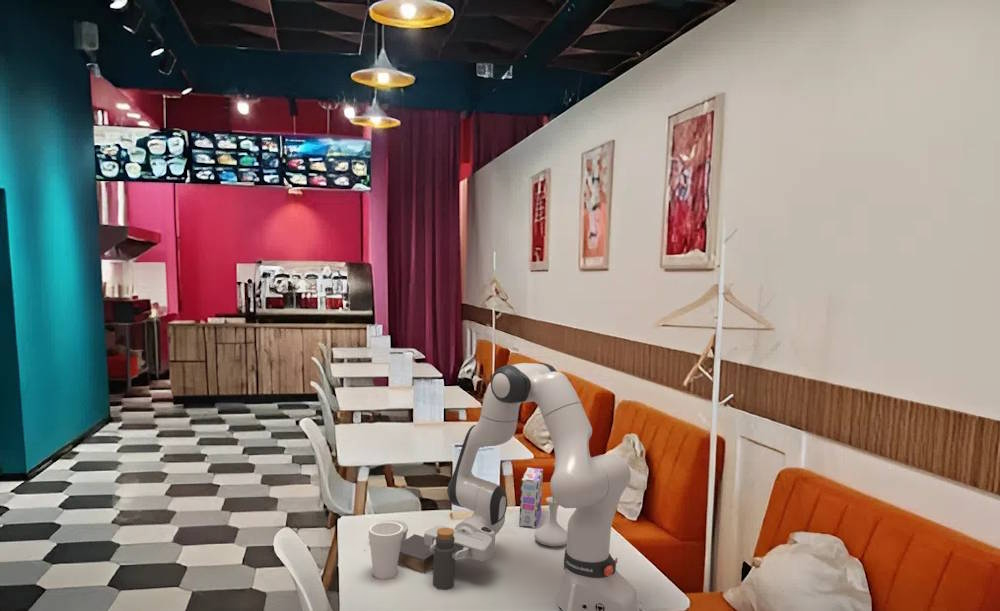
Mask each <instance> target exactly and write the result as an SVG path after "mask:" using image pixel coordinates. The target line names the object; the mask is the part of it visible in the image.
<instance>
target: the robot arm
mask: <svg viewBox="0 0 1000 611" xmlns="http://www.w3.org/2000/svg"><path fill="white" fill-rule="evenodd" d="M482 401H483V402H482V406H481V410H480V417H479V419H478V421H477V422H476V424H473V425H472V426H470V428H469V429H468V431H467V433H466V435H465V437H464V440H463V442H462V446H461V449H460V452H459V455H458V459H457V463H456V464H455V468H454V471H453V474H452V476H451V478H450V481H449V482H448V486H447V489H446V492H447V493H446V494H447V497H448V499H449V502H450V503H451V504H452V505H454V506H457V507H460V508H465V509H467V510H470V511H473V514H472V515H470V516H468V517H466V518H465V519H463V520H462V521H461V522H459V523H457V525H455V528H453V527H449V526H445V525H437V526H436V525H435V526H434V527H432V528H429V529H428V530H425V532H424V535H423V537H424V543H425V545H428V546H430V552H431V553H434V547H435V545H436V544H437V542H436V537H437V530H438V529H440V528H451V529H453V530H454V534H453V536H454V538H455V540H454V542H453V543H452V544H454V545H455V551H454V552H453V553H452V559H455V561H459V559H464V558H468V559H472V560H475V561H479V562H484V561H487V560H488V559H489V558H491V556H492V555H493V554H494V553H495V549H496V536H497V534H498V533H499V532H500V531H501V529H502V528H503V526H504V524H505V523H506V522H505V521H506V513H507V512H506V511H507V507H508V497H507V493H506V490H505V489H504V487H503V485H499V484H497V483H495V482H491V481H489V480H485V479H482V478H480V477H477V476H475V475H474V474H473V473H472V470H473V467H474V463H475V461H476V456H477V454H478V451H479V449H480V448H486V447H487V448H488V447H497V446H500V445H503V444H506V443H508V442H510V440H511V439H512V438H513V437H514V435H515V434H516V430H517V425H518V419H519V411H520V406H521V404H522V403H533V402H534V403H535V404H536V405H537V406H538V408H539V411H540V413H541V416H542V419H543V421H544V425H545V426H546V428H547V432H548V434H549V437H550V439H551V441H552V445H553V451H554V457H555V458H554V459H555V462H554V463H555V467H554V471H553V474H552V476H551V478H550V483H549V485H550V486H549V488H550V493H551V497H553V498H554V499H555V501H556V502H557V503H558V504H559V506H560V507H562V508H564V509H575V510H574V511H573V513H572V514H571V515H570V517H569V519H568V522H567V530H566V532H567V543H566V548H565V549H564V557H563V571H564V574H563V581H562V585H561V589H560V592H559V596H558V598H557V606H558V605H559V606H558V608H559V607H560V608H561V609H562V610H563V611H646V609H645V606H644V605H643V604H641V603H639V602H638V600H637V593H636V590H635V588H634V586H633V585H632V584H631V583H629V582H628V581H627V579H626V578H625V577H624V576H622V575H621V574H620V573H619V572H618V570H617V563H618V559H619V558H618V557H616V558H615V559H614V558H613V557H612V555H611V553H610V545H611V544H610V543H611V534H612V526H613V522H614V518H615V514H616V511H617V508H618V506H619V502H620V499H621V497H622V495H623V493H624V491H625V490H626V488H627V487H628V486H629V484H630V482H631V478H632V476H631V474H632V473H631V470H630V466H629V465H628V462H627V461H626V460H625V459H624V458H623V457H621V456H620V455H617V454H599V455H595V456H591V454H590V446H589V443H590V438H591V437H592V434H593V427H592V425H591V423H590V420H589V418H588V416H587V414H586V411H585V409H584V406H583V404H582V402H581V400H580V398H579V396H578V392H576V389H575V388H574V386H573V385H572V383H571V381H570V380H569V378H568V377H567V376H566V374H564V373H563V372H561V371H557V370H556V368H555V367H554V366H552V365H551V364H548V363H545V362H537V363H535V362H534V363H533V362H532V363H531V362H528V363H527V362H522V363H520V362H519V363H515V364H506V365H504V366H501V367H499V368H497V369H496V370H494V372H493V374H492V375H491V378H490V382H489V384H488V385H487V387H486V390H485V394H484V397H483V400H482ZM560 608H559V609H560ZM561 609H560V610H561ZM562 610H561V611H562Z"/></svg>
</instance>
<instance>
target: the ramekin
mask: <svg viewBox="0 0 1000 611" xmlns="http://www.w3.org/2000/svg"><path fill="white" fill-rule="evenodd" d="M380 522H396V523H398V524H401V525H402V527H403V537H402V540H401V542H403V541H404V540H406V539H407V534H408V531H409V525H408V524H407V523H406V522H404V521H400V520H395V519H388V520H387V519H386V520H382V521H378V522H377V523H380Z"/></svg>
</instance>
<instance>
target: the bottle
mask: <svg viewBox="0 0 1000 611" xmlns="http://www.w3.org/2000/svg"><path fill="white" fill-rule="evenodd" d="M451 528H452V527H449V528H440V529H438V530H437V537H436V542H437V544H436V545H435V547H434V565H433V567H432V568H433V570H432V586H434V588H436V589H439V590H448V589H451V588H453V587H454V585H455V576H456V575H455V571H456V569H455V568H456V560H455V559H452V553H453V552H454V551H455V545H454V544H452V543H453V542H454V540H455V538H454V536H453V534H454V530H453V529H454V528H453V529H451Z"/></svg>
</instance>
